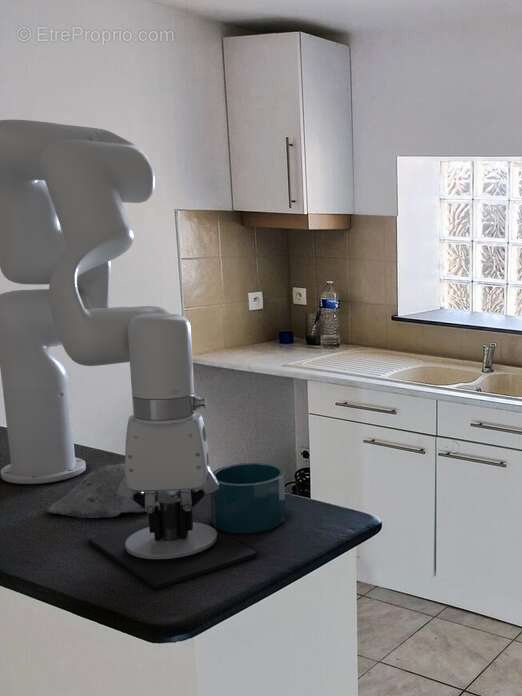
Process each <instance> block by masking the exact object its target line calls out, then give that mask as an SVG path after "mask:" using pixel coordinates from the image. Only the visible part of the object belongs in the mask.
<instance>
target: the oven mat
mask: <svg viewBox="0 0 522 696" xmlns="http://www.w3.org/2000/svg"><path fill="white" fill-rule="evenodd" d="M193 522H195V523H201V524H205V523H204V522H202V521H200V520H198V519H196V518H194V517H193ZM148 527H149V522H147V523H144V524H141V525H137V526H136V525H135V526H133V527H128V528H125V529H121V530H118V531H113V532H110V533H105V534H101V535H98V536H94V537H90V538H88V543H89V544H90V545H92V546H93V547H94V548H96V549H97V550H99V551H100V552H102V553H104V554H105V555H106V556H108V557H109V558H110V559H112V560H113V561H115V562H116V563H118V564H120V565H121V566H122V567H124V568H125V569H126V570H128V571H130V572H131V573H132V574H133V575H135V576H137V577H138V578H140V579H141V580H142V581H144V582H145V583H147V584H148V585H150V586H151V587H152V588H154V589H156V590H159V589H162V588H164V587H168V586H171V585H174V584H177V583H180V582H183V581H186V580H189V579H193V578H195V577H198V576H202V575H205V574H208V573H211V572H214V571H217V570H221V569H223V568H226V567H229V566H230V567H231V566H232V565H236V564H238V563H242V562H245V561H248V560H251V559H254V558H257V557H258V552H257V551H255V550H254V549H251V548H249V547H248V546H246V545H244V544H242V543H240V542H239V541H237V540H235V539H233V538H231V537H229V536H227V535H226V534H223V533H222V532H221V531H219V530H216V532H217V540H216V542H215V543H214V544H213V545H212V546H210V547H209V548H207V549H205V550H203V551H201V552H198V553H195V554H192V555H188V556H184V557H178V558H171V559H146V558H140V557H136V556H133V555H131V554H130V553H128V552H127V550H126V547H125V542H126V540H127V539H128V538H129V537H130V536H131V535H132V534H134V533H136V532H138V531H140V530H142V529H145V528H148Z"/></svg>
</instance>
